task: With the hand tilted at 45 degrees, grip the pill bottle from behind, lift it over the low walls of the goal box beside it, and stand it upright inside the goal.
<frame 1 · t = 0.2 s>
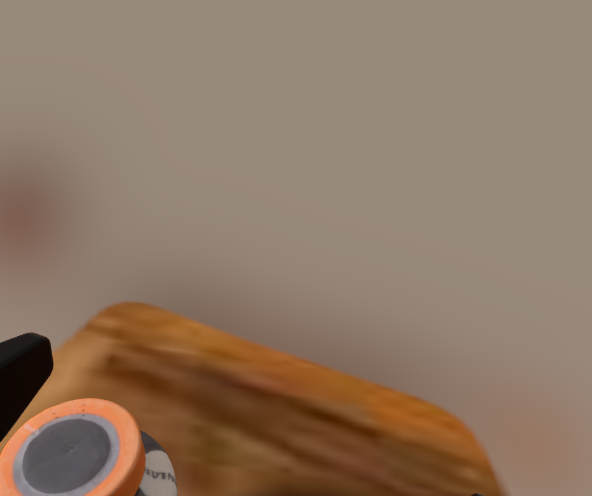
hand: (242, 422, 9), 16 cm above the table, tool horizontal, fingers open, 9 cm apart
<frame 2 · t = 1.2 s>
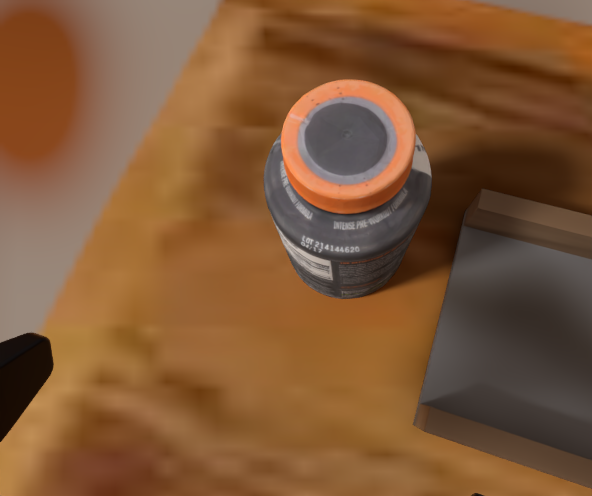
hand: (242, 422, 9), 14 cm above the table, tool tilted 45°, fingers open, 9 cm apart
pill bottle: (344, 245, 24), on the table
goal box: (556, 346, 22), on the table
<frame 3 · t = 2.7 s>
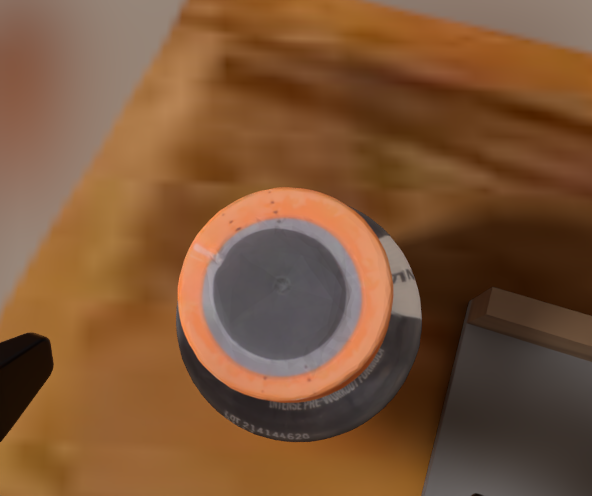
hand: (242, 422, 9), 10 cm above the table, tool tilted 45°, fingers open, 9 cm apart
pill bottle: (314, 341, 19), on the table
goal box: (587, 491, 17), on the table
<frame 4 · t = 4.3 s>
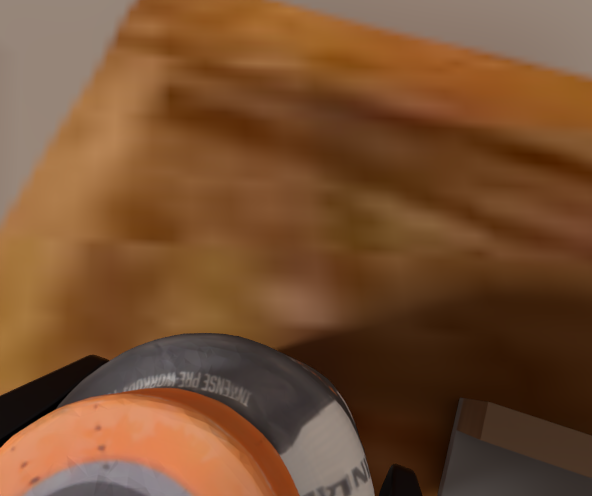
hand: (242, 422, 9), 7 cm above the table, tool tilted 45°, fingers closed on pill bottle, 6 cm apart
pill bottle: (268, 447, 15), on the table, touching gripper
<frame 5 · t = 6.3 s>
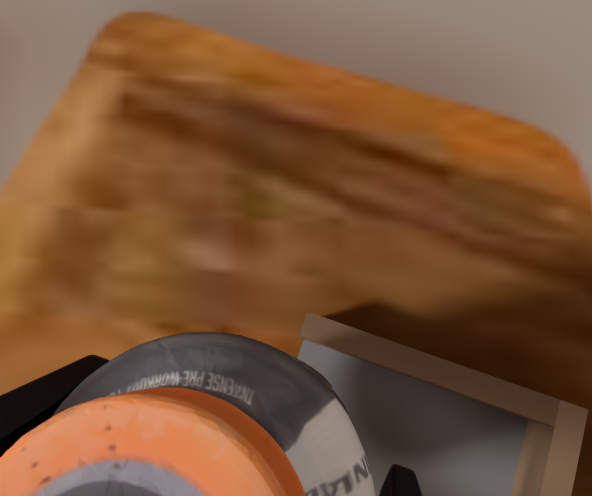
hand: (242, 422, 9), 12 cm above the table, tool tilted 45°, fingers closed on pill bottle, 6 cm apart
pill bottle: (264, 442, 16), point 5 cm above the table, touching gripper
goal box: (391, 485, 20), on the table
when the fingers open (8 cm above the table, at t = 8.4 s): pill bottle stays where it is, resting on goal box.
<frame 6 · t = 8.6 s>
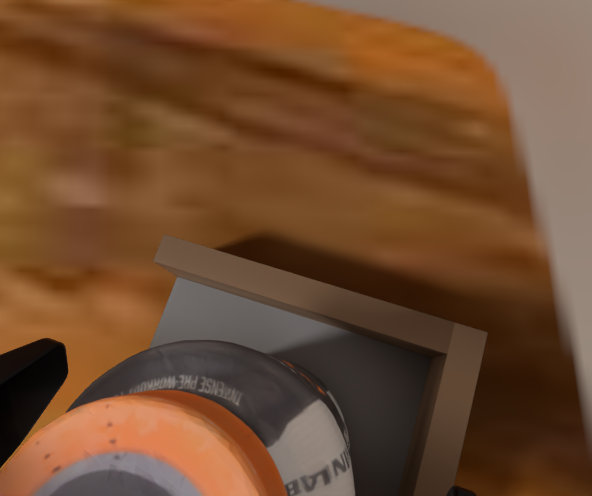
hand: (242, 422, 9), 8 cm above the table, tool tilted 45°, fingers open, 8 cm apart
pill bottle: (264, 443, 16), resting on goal box
goal box: (274, 440, 17), on the table
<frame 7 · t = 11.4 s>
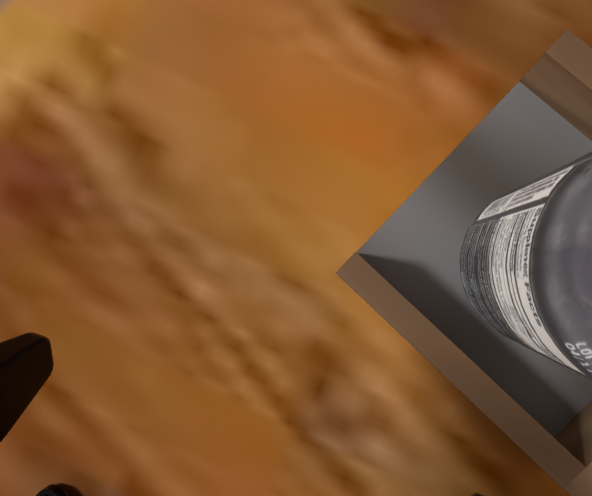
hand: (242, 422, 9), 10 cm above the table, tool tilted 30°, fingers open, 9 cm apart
pill bottle: (536, 264, 18), resting on goal box
goal box: (541, 265, 18), on the table
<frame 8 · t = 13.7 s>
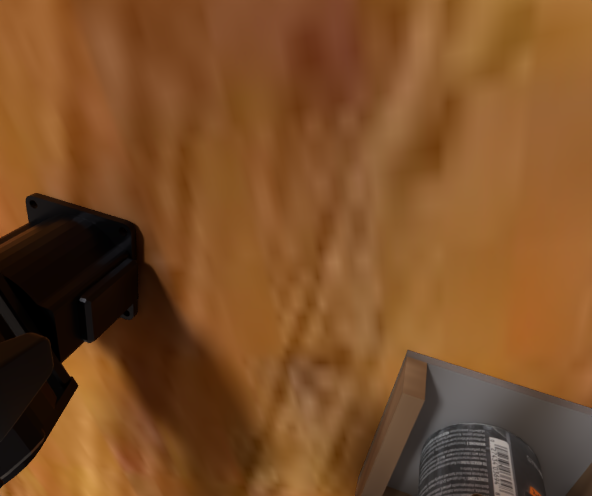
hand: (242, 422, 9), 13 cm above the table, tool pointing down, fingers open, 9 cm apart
pill bottle: (477, 456, 25), resting on goal box
goal box: (478, 455, 25), on the table
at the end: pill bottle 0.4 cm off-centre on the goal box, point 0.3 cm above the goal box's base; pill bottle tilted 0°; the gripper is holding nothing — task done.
